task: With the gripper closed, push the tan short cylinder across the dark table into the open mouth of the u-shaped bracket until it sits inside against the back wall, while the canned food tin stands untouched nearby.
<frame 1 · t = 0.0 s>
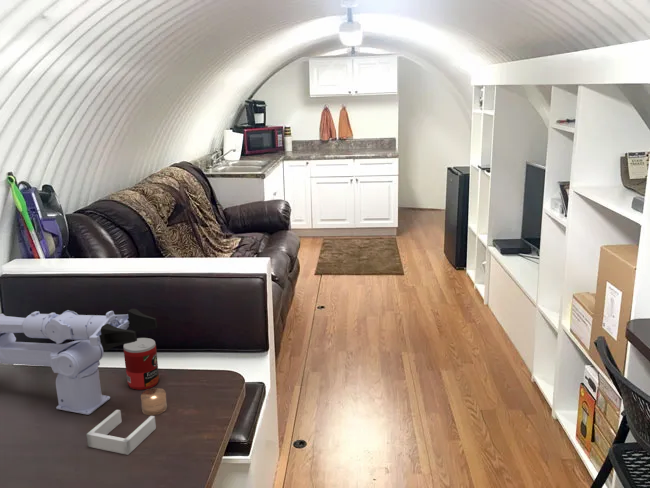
hand: (146, 329, 125), 22 cm above the table, tool horizontal, fingers open, 7 cm apart
u-shaped bracket: (122, 437, 123), on the table
tan short cylinder: (154, 409, 134), on the table
canned food: (143, 383, 147), on the table
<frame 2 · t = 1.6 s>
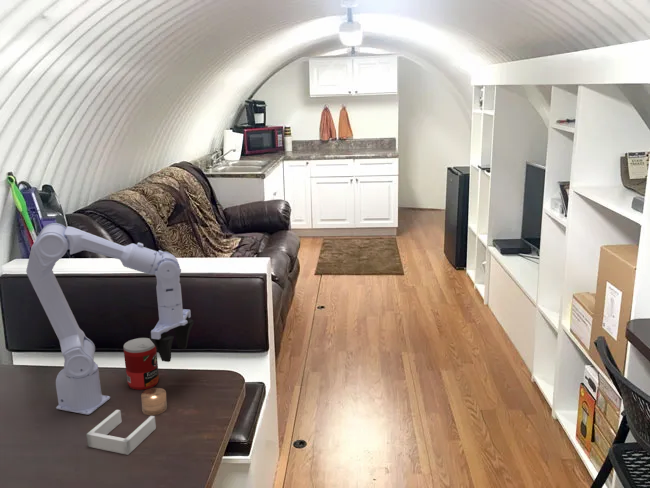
hand: (174, 354, 141), 9 cm above the table, tool pointing down, fingers open, 7 cm apart
nothing on the table moved.
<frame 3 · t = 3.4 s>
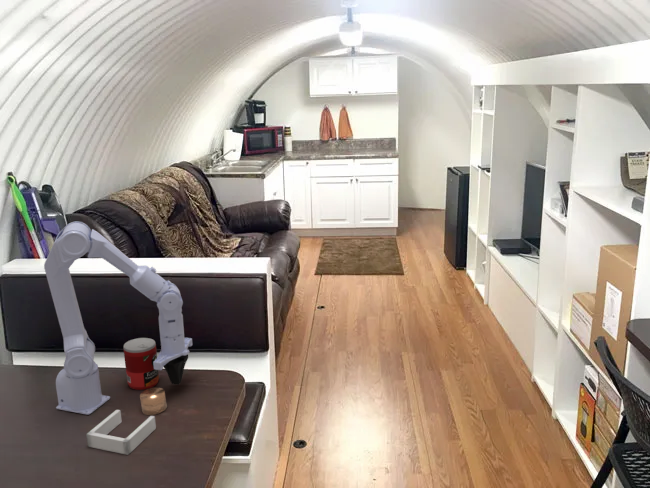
hand: (176, 383, 143), 2 cm above the table, tool pointing down, fingers closed
nothing on the table moved.
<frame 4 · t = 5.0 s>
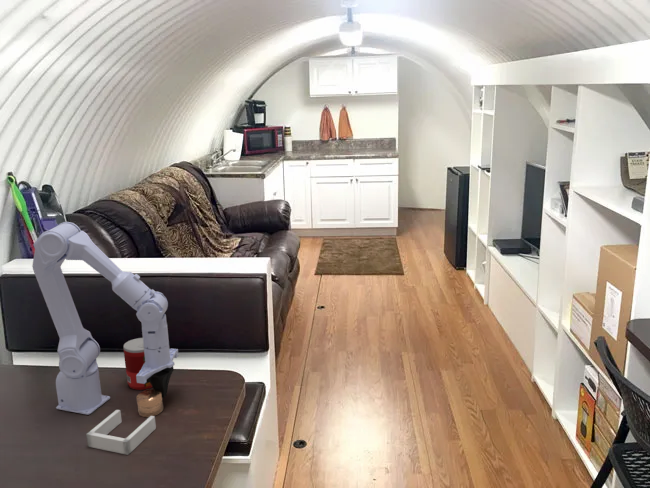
hand: (161, 396, 137), 2 cm above the table, tool pointing down, fingers closed
tan short cylinder: (151, 410, 134), on the table, touching gripper
everything else where it was.
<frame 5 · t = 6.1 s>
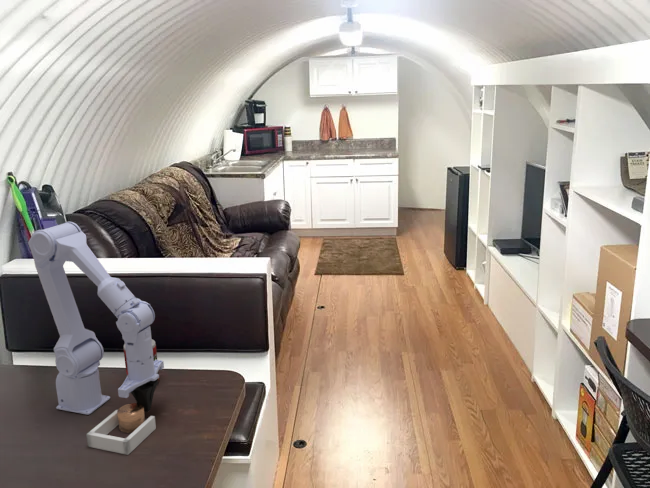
hand: (145, 410, 131), 2 cm above the table, tool pointing down, fingers closed
tan short cylinder: (132, 425, 128), on the table, touching gripper
everything else where it was.
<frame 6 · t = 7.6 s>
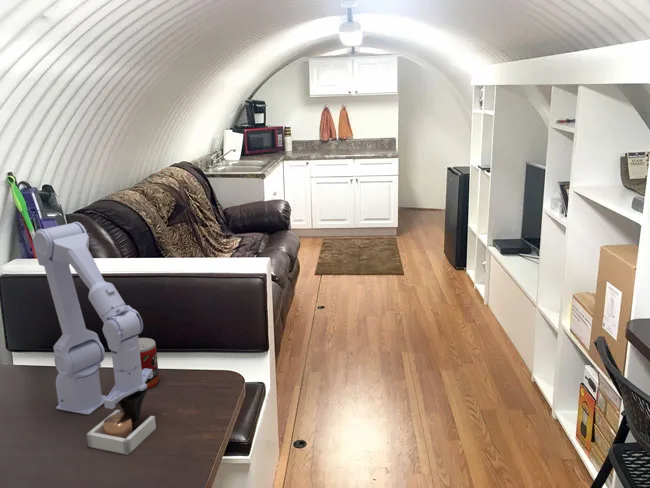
hand: (133, 420, 127), 2 cm above the table, tool pointing down, fingers closed
tan short cylinder: (119, 436, 124), on the table, touching gripper
everything else where it was.
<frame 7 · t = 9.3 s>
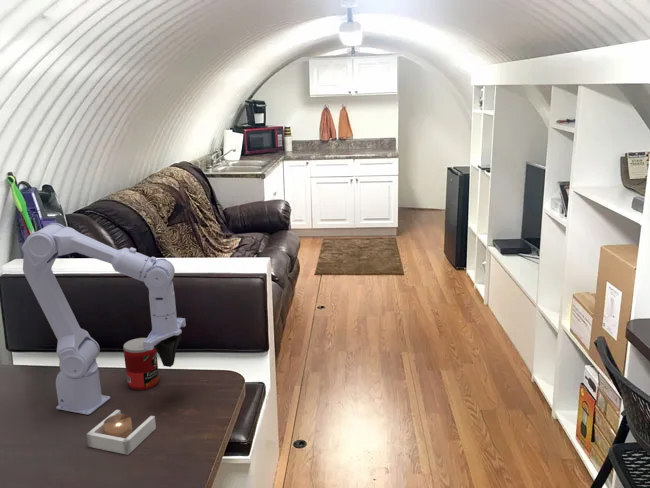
hand: (168, 365, 135), 9 cm above the table, tool pointing down, fingers closed
tan short cylinder: (119, 437, 124), on the table
everything else where it was.
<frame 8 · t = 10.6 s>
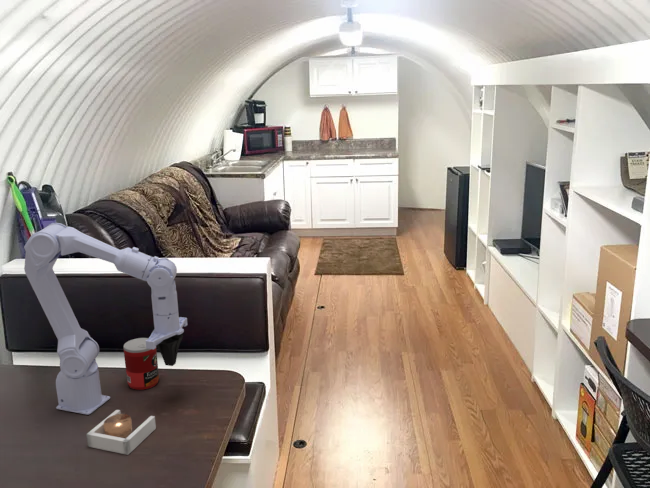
hand: (170, 364, 136), 9 cm above the table, tool pointing down, fingers closed
nothing on the table moved.
at the end: tan short cylinder inside the target area (0.9 cm from its centre), on the table; tan short cylinder tilted 0° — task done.
